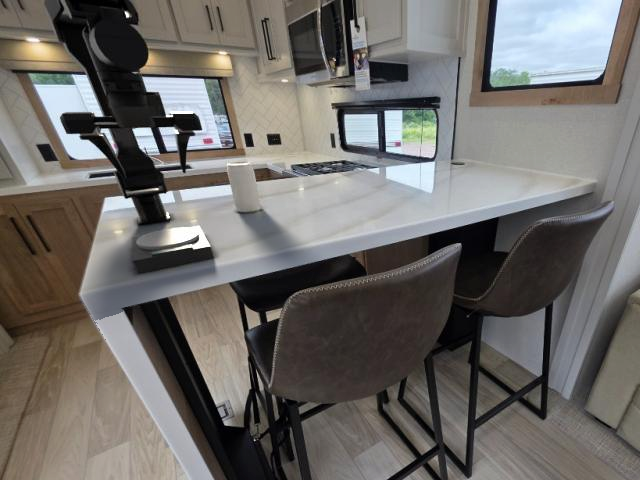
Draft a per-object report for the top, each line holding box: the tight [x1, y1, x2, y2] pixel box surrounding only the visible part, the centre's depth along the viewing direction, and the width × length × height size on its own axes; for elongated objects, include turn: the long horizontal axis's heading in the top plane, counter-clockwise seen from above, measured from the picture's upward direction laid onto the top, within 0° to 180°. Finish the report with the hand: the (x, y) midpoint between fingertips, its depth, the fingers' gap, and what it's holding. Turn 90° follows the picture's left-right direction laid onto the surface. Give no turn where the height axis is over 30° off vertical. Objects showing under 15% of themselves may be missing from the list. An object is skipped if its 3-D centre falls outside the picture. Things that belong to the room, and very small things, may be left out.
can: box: [226, 161, 262, 214], centre depth 88 cm, size 6×6×12 cm
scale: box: [131, 225, 215, 274], centre depth 64 cm, size 14×12×3 cm
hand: (155, 175), depth 61 cm, fingers open, 9 cm apart
